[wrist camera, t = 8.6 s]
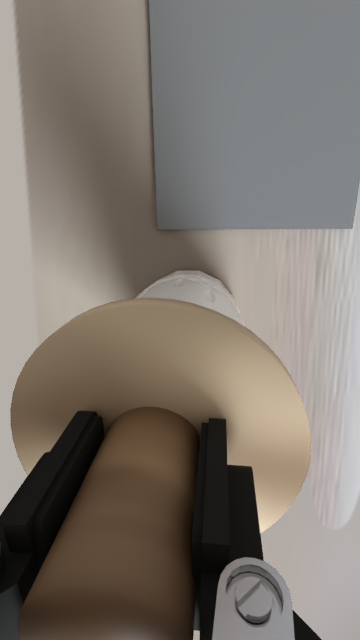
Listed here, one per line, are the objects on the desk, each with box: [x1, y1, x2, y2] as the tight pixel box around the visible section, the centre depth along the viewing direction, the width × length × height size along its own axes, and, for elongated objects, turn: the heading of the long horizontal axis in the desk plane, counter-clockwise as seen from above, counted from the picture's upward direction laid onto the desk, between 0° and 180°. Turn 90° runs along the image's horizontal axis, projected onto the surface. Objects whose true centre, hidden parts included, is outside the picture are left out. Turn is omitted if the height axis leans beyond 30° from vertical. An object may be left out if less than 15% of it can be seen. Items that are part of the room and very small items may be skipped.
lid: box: [11, 297, 311, 640], centre depth 9 cm, size 10×10×6 cm
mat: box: [149, 0, 360, 230], centre depth 19 cm, size 14×12×1 cm
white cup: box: [135, 271, 246, 327], centre depth 19 cm, size 8×8×10 cm
